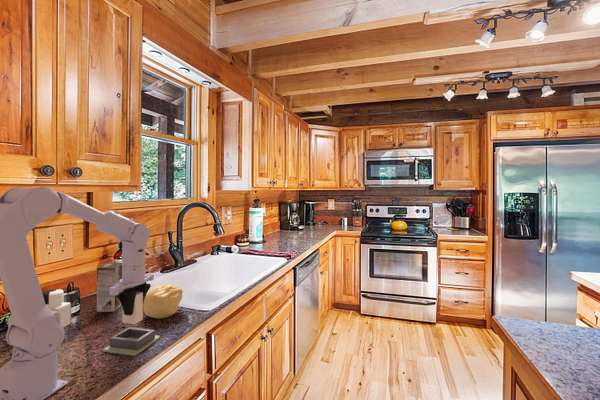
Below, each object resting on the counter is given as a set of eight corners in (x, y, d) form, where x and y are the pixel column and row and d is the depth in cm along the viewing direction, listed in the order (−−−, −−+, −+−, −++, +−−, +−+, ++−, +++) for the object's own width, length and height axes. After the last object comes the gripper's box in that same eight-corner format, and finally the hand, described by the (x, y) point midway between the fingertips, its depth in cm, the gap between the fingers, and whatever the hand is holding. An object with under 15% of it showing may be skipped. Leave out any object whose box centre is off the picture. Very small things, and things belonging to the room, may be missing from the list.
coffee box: (107, 303, 113) (108, 262, 113) (125, 302, 114) (126, 261, 114) (95, 312, 104) (96, 267, 104) (115, 311, 106) (115, 267, 105)
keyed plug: (134, 324, 81) (135, 295, 81) (120, 322, 82) (120, 294, 82) (142, 319, 84) (142, 292, 84) (128, 318, 85) (128, 291, 85)
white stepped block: (29, 333, 88) (29, 294, 88) (48, 323, 95) (49, 287, 95) (53, 334, 88) (53, 294, 88) (71, 323, 95) (71, 287, 95)
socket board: (135, 355, 77) (135, 344, 77) (102, 351, 79) (103, 340, 79) (160, 337, 87) (160, 327, 87) (130, 334, 89) (130, 324, 89)
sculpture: (165, 324, 96) (165, 291, 96) (135, 319, 99) (136, 288, 99) (187, 311, 107) (187, 282, 107) (160, 307, 110) (160, 279, 110)
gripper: (139, 258, 90) (139, 301, 90) (99, 270, 76) (99, 321, 76) (160, 259, 89) (159, 303, 89) (123, 271, 75) (122, 324, 75)
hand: (133, 312), depth 83 cm, fingers closed on keyed plug, 3 cm apart
